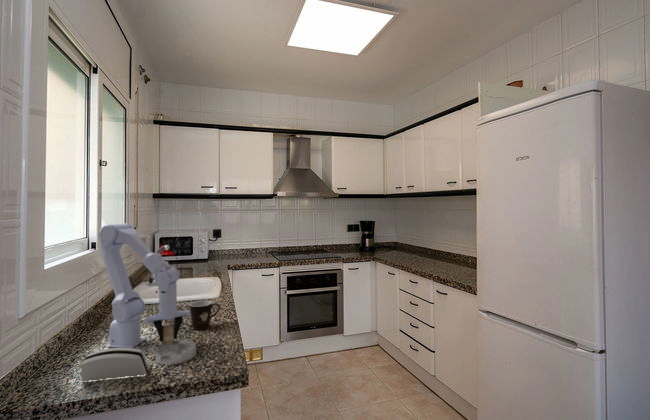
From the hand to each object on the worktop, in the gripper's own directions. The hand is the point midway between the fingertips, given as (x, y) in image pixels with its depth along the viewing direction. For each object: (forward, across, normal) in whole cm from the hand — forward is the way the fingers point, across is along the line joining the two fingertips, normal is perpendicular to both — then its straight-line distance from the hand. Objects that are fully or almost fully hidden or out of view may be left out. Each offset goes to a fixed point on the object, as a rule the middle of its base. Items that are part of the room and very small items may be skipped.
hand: (168, 339), depth 117 cm
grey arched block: (+2, -16, -17) cm, 23 cm away
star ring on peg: (+2, +1, -12) cm, 12 cm away
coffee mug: (+2, +15, +11) cm, 19 cm away
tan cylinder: (+2, 0, 0) cm, 2 cm away
